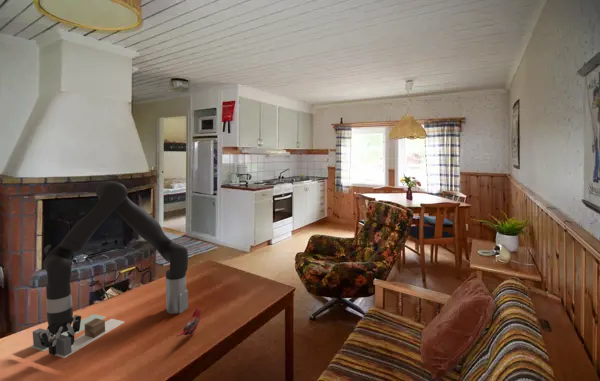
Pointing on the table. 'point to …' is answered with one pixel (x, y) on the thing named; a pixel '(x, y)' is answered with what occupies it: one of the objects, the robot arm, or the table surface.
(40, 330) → the sage strip
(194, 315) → the decorative bird figurine
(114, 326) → the cream strip
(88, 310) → the table surface
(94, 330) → the walnut block
